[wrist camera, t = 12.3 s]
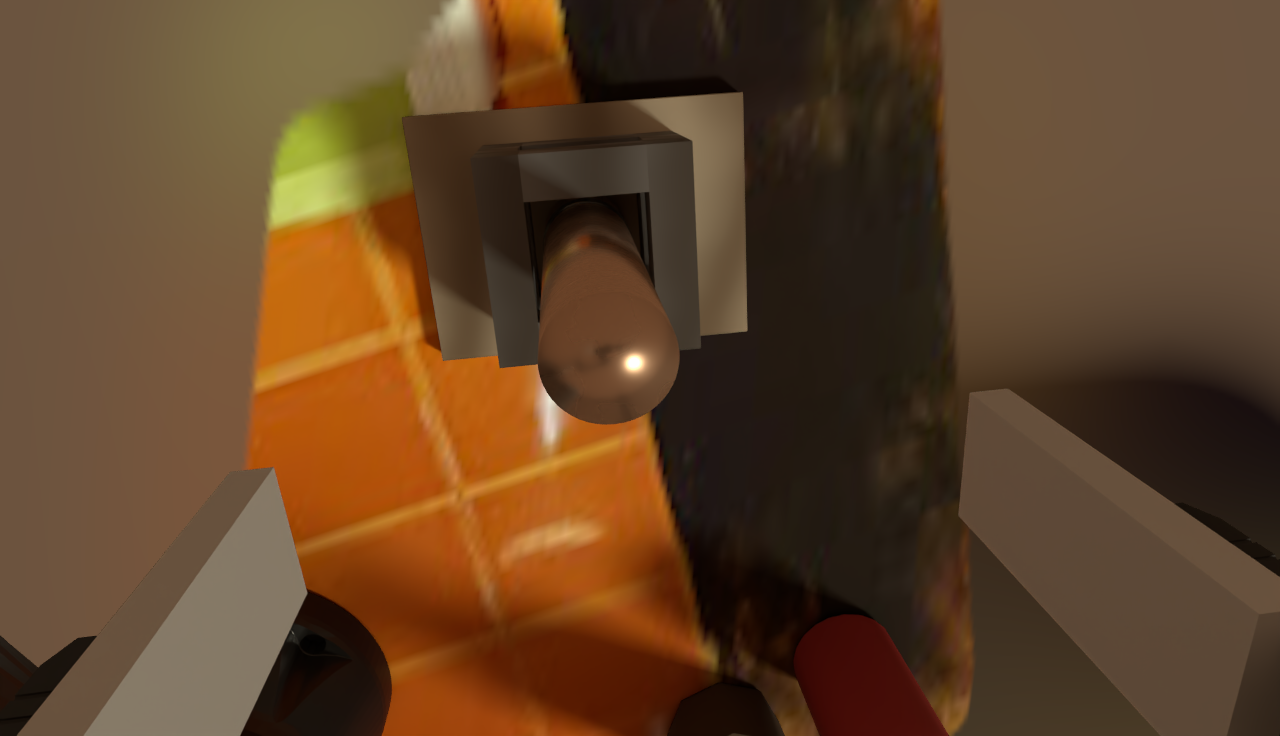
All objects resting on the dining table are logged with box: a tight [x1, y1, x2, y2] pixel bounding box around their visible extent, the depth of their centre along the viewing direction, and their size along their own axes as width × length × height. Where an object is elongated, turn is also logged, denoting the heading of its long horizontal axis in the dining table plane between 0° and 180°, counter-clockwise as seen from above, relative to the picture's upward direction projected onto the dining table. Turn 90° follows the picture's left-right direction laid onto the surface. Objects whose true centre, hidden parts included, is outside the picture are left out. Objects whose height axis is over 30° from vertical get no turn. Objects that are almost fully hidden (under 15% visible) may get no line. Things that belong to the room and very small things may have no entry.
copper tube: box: [538, 196, 679, 424], centre depth 30 cm, size 4×4×18 cm
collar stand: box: [402, 92, 747, 368], centre depth 36 cm, size 16×12×7 cm
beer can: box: [793, 614, 949, 736], centre depth 45 cm, size 7×7×12 cm
